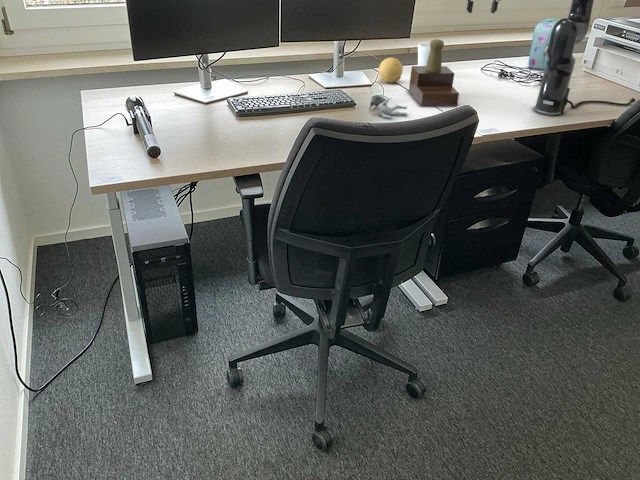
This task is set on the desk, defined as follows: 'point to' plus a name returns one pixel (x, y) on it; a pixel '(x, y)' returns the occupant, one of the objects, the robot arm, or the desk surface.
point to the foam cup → (423, 53)
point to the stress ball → (390, 69)
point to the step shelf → (433, 87)
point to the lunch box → (541, 44)
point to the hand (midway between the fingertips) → (481, 12)
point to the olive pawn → (435, 56)
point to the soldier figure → (388, 109)
